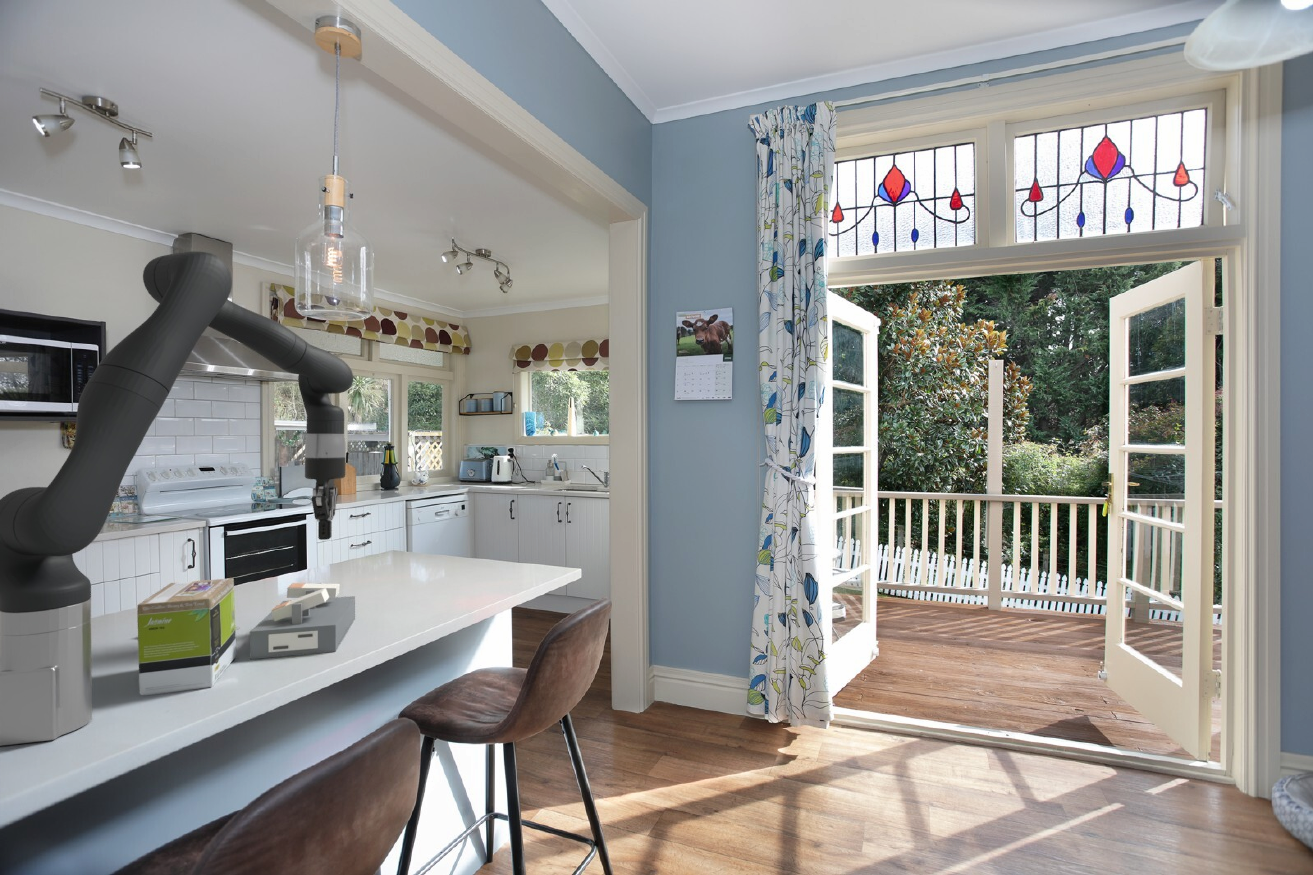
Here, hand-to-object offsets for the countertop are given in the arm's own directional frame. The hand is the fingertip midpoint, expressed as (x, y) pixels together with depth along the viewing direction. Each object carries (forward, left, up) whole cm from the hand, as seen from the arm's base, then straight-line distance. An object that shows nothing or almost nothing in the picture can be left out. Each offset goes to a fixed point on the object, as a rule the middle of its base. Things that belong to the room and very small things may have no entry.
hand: (324, 538), depth 133 cm
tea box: (-22, +16, -19) cm, 33 cm away
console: (-5, +2, -19) cm, 20 cm away
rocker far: (+1, +2, -11) cm, 11 cm away
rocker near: (-10, +2, -11) cm, 15 cm away
